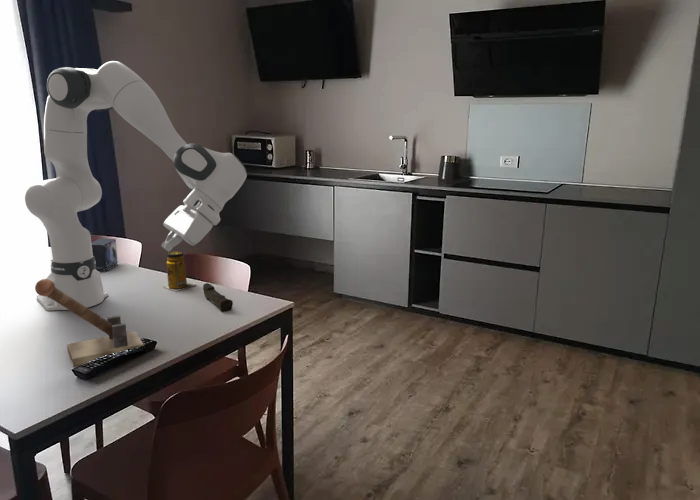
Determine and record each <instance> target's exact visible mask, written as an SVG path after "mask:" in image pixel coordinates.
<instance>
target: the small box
mask: <svg viewBox="0 0 700 500" xmlns="http://www.w3.org/2000/svg"><path fill="white" fill-rule="evenodd" d="M116 240H117V239H116V238H99V239H96V240H94V241H91V243H92V252H93V256H94V257H95V261H96V268H95V269H96V270H97V271H98V272H103V271H106V272H107V270H108V269H109V270H110V268H111V269H112V267H113V266H114V267H116V266H117V265H116V264H117V263H118V253H117V252H118V251H117V242H116ZM118 264H119V263H118ZM115 265H116V266H115ZM114 267H113V268H114ZM109 270H108V271H109Z"/></svg>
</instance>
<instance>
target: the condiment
mask: <svg viewBox="0 0 700 500" xmlns="http://www.w3.org/2000/svg"><path fill="white" fill-rule="evenodd" d="M166 257H167V258H166V259H167V261H166V270H167V271H166V272H167V273H166V274H167V284H168V285H166V286H164V288H166V289H168V290H170V291H174V292H177V291H181V290H185V289H188V288H192V287H194V286H196V284H193V283H191V282H188V280H187V270H186V269H187V267H186V260H185V256H184V252H182V251H169V252H168V253H166Z"/></svg>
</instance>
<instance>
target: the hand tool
mask: <svg viewBox="0 0 700 500" xmlns="http://www.w3.org/2000/svg"><path fill="white" fill-rule="evenodd" d="M202 286H203V294H204V297H205V298H206V300H207V301H210V302H211V303H213V304H214V305H215V306H217V307H218V308H219V311H220V312H221V313H226V312H227V313H228V312H230V311H232V309H233V305H234V303H233V302H234V301H233V300H232V299H229V298H227V297H226V296H225V295H223V294H221V293H220V292H218V291H217V290H216V289H215V287H214V286H213V285H212V284H211V283H208V282H206V283H204V284H203V285H202Z"/></svg>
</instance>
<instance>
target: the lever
mask: <svg viewBox="0 0 700 500" xmlns="http://www.w3.org/2000/svg"><path fill="white" fill-rule="evenodd" d="M34 288H35V289H34V290H35V293H36V294H37V295H40V296H48V297H49V298H51V299H53V300H54V301H56V302H57V303H59V304H60V305H62V306H64V307H65V308H67V309H68V310H67V311H70V312H71V313H73V314H75V315H76V316H78V317H80V318H81V319H83V320H84V321H86V322H88V324H91V325H92V326H93V327H96V329H99V330H100V331H101V332H102V333H105V334H107V336H111V337H112V336H113V333H112V325H113V324H111V323H110V322H108V321H107V319H105V318H104V317H102V316H100V315H99V314H97V313H95V312H94V311H93V310H91V309H90V308H89V307H85V306H84V305H82V304H80V303H79V302H77V301H76V300H74V299H73V298H71V297H70V296H68V295H67V294H65V293H64V292H62V291H60V290H59V289H57V288H56V287H55V285H54V283H53V282H52V281H51V280H49V279H46V278H43V279H41V280H38V281H37V282H36V284H35V287H34Z"/></svg>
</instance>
